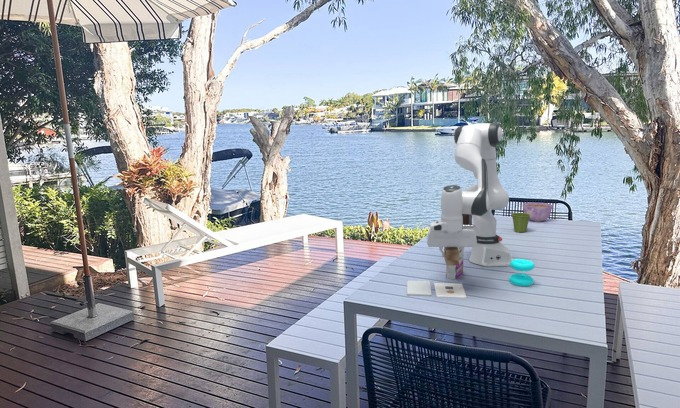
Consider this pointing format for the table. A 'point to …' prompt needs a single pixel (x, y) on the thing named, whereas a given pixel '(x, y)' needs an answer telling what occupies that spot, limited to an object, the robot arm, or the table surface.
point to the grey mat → (418, 288)
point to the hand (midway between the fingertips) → (451, 256)
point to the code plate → (449, 290)
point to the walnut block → (451, 256)
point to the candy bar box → (455, 268)
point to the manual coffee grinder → (467, 219)
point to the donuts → (519, 277)
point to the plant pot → (520, 221)
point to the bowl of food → (537, 210)
